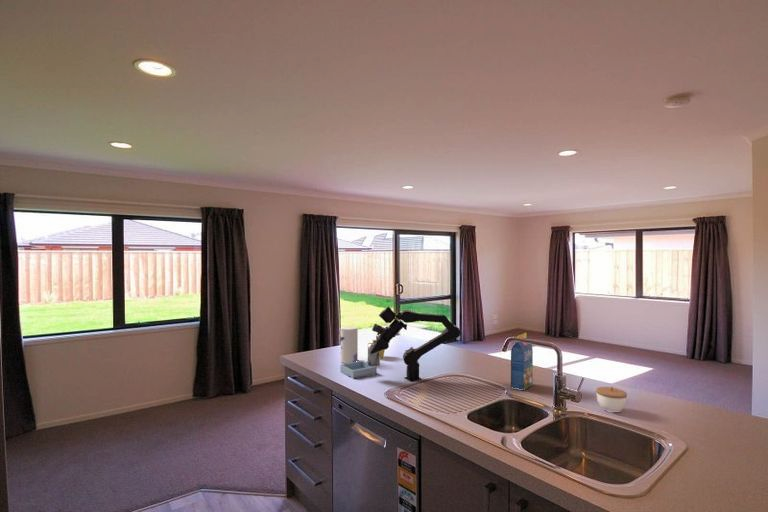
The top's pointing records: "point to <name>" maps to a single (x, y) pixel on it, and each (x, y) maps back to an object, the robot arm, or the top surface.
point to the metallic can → (373, 355)
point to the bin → (358, 369)
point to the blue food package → (521, 364)
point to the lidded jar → (611, 398)
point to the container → (349, 344)
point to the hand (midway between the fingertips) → (370, 351)
